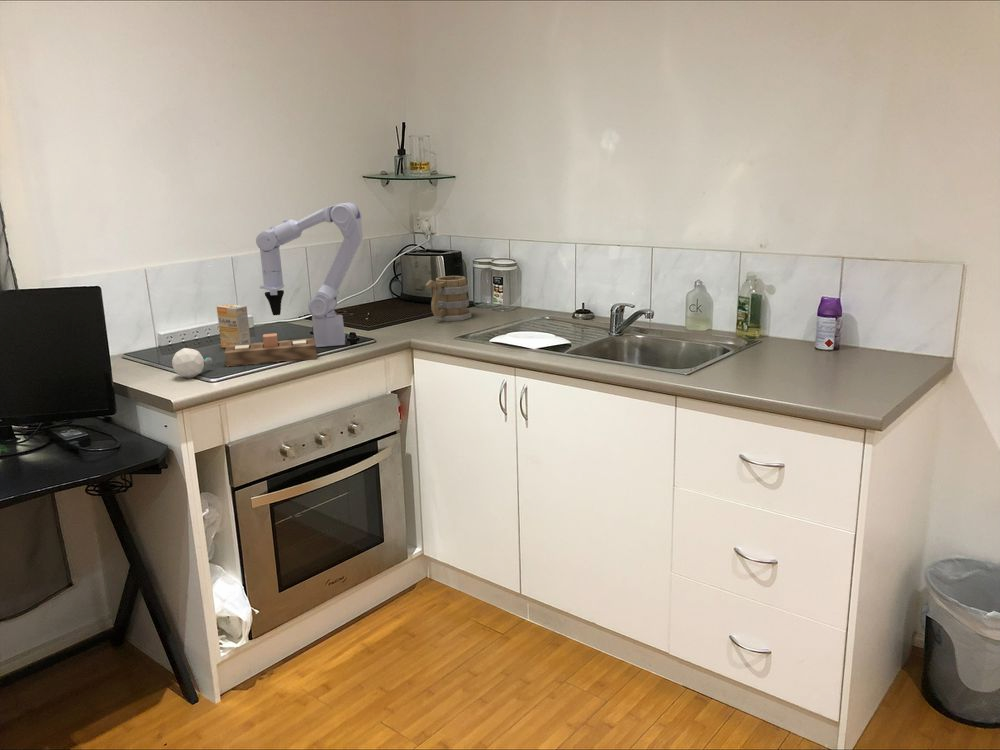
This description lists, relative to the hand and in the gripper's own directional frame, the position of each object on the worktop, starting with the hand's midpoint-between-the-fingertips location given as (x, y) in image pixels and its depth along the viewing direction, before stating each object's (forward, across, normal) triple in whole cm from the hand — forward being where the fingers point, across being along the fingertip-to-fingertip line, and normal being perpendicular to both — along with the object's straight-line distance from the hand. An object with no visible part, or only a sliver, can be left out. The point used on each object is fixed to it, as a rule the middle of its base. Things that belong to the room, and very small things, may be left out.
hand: (276, 314), depth 249 cm
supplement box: (+10, -1, -13) cm, 16 cm away
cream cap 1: (+9, +18, -10) cm, 22 cm away
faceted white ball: (+10, +29, -22) cm, 38 cm away
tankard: (+10, -18, +56) cm, 60 cm away
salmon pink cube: (+6, +18, -2) cm, 19 cm away
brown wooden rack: (+9, +18, -2) cm, 20 cm away
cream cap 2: (+9, +18, +6) cm, 21 cm away
